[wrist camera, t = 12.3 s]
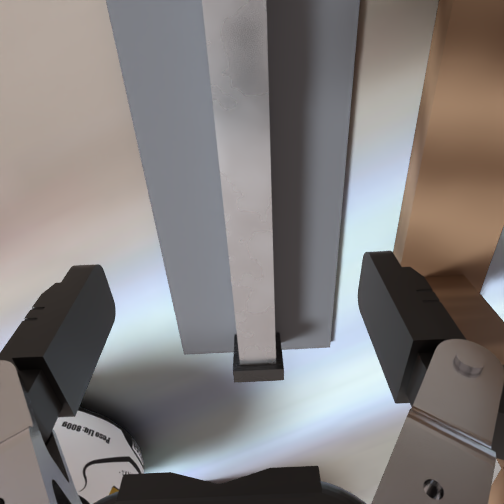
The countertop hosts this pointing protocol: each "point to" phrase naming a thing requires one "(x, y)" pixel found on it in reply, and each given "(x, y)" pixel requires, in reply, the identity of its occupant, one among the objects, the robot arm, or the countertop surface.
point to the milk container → (97, 454)
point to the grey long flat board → (207, 163)
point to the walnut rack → (460, 172)
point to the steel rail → (245, 177)
